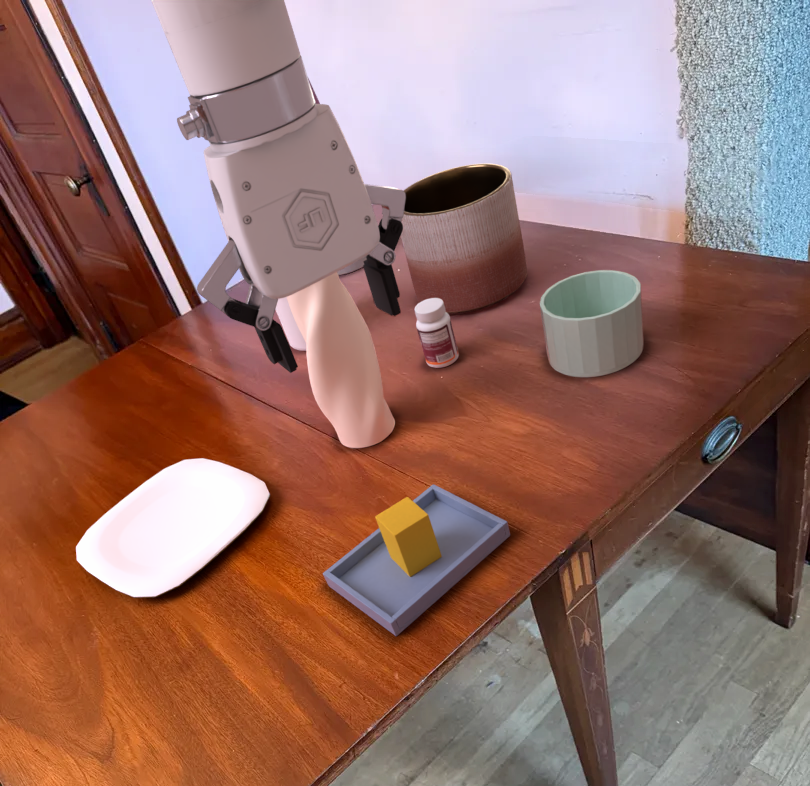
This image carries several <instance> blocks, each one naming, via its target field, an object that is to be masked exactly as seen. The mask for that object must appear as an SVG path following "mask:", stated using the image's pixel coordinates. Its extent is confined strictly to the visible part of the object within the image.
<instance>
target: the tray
mask: <svg viewBox="0 0 810 786" xmlns="http://www.w3.org/2000/svg"><path fill="white" fill-rule="evenodd" d="M412 501H413V502H414V503H415V504H417V505H418V506H419V507H420V508H421V509H422V510H424V511H425V512H426V513H427V514H428V515H429V519H430V522H431V525H432V528H433V531H434V534H435V537H436V540H437V543H438V546H439V549H440V552H441V556H442V557H441V558H439V559H438V560H436V561H434V562H433V563H431V564H430V565H428V566H427V567H425V568H424V569H422V570H421V571H419V572H418V573H416V574H414V575H413V576H411V577H409V576H408V575H407V574H406V573H405V571H404V570H403V569H402V568H401V567H400V566H399V565H398V564H397V563H396V562H395V561H394V560H393V559H392V558H391V557H390V554H389V552H388V549H387V547H386V544H385V541H384V539H383V536H382V534H381V531H380V529H379V527H378V528H377V529H375V531H373V532H372V533H371V534H369V535H368V536H367V537H365V538H364V539H363V540H362V541H361V542H360V543H358V544H357V545H356V546H354V548H352V549H351V550H349V551H348V552H347V553H346V554H345V555H344V556H342V557H341V558H340V559H339V560H337V561H336V562H335V563H334V564H332V565H331V566H330V567H328V568H327V569H325V571H323V572H322V576H323V577H324V579H325V581H326V584H327V586H328V587H329V588H330V589H332V590H333V591H335V592H336V593H337V594H338V595H340V596H341V597H342V598H344V599H345V600H346V601H348V602H349V603H350V604H352V605H353V606H355V608H357V609H359V610H360V611H362V612H363V613H364V614H365V615H367V616H368V617H369V618H371V619H372V620H374V621H375V622H376V623H377V624H379V625H380V626H381V627H383V628H384V629H385V630H387V631H388V632H389V633H391V634H392V635H394V636H395V637H397V636H399V635H400V634H401V633H402V632H403V631H405V630H406V629H407V628H408V627H409V626H410V625H411V624H412V623H413V622H414V621H416V620H417V619H418V618H419V617H420V616H421V615H423V614H424V613H425V612H426V611H427V610H428V609H429V608H430V607H431V606H433V605H434V604H435V603H436V602H437V601H438V600H439V599H440V598H441V597H443V596H444V595H445V594H446V593H447V592H449V591H450V589H453V587H455V585H456V584H457V583H459V582H460V581H461V580H462V579H463V578H465V576H467V575H468V574H469V573H470V572H471V571H472V570H473V569H474V568H475V567H477V566H478V565H479V564H480V563H481V562H482V561H484V560H485V559H486V558H487V557H488V556H489V555H490V554H491V553H493V551H495V550H496V549H497V548H498V547H499V546H500V545H501V544H503V543H504V542H505V541H506V540H507V539H508V538H509V537H511V532H510V527H509V523H508V521H507V520H505V519H503V518H502V517H499V516H498V515H495V514H493V513H491V512H489V511H487V510H485V509H484V508H481V507H479V506H478V505H475V504H474V503H472V502H470V501H467V500H465V499H463V498H461V497H459V496H458V495H456V494H454V493H452V492H450V491H449V490H448V491H447V490H446V489H444V488H442V487H440V486H438V485H436V484H434V483H433V484H431V485H430V486H429V487H428V488H426V489H425V490H424V491H423V492H421V493H420V494H419V495H418V496H416V497H415V498H414V499H413V500H412Z"/></svg>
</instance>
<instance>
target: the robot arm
mask: <svg viewBox="0 0 810 786" xmlns="http://www.w3.org/2000/svg"><path fill="white" fill-rule="evenodd" d="M150 1H151V3H152V6H153V8H154V11H155V13H156V15H157V18H158V21H159V23H160V26H161V28H162V31H163V33H164V36H165V38H166V40H167V43H168V45H169V48H170V51H171V52H172V55H173V57H174V60H175V63H176V64H177V67H178V70H179V72H180V74H181V78H182V79H183V82H184V85H185V87H186V89H187V90H188V93H189V96H187V99H188V102H189V105H188V106H189V109H188V110H187V111H185V114H183V115H181V116H179V117H177V118H176V123H177V126H178V128H179V131H180V133H181V135H182V136H183V138H184V139H185V140H186V141H189V140H191V139H194V138H198V139H200V138H204V140H205V141H207V142H208V143H209V146H207V147H206V148H204V150H203V156H204V162H205V168H206V172H207V176H208V180H209V184H210V188H211V192H212V195H213V199H214V203H215V206H216V208H217V209H216V210H217V212H218V215H219V218H220V222H221V224H222V228H223V231H224V233H225V237H226V239H227V243H226V244H225V245H224V247H223V249H222V250H221V252H220V253H219V254H218V256H217V257H216V258H215V260H214V262H213V263H212V264H211V266H210V267H209V269H208V270H207V271H206V272H205V274H204V276H202V278H201V279H200V281H199V282H198V284H197V286H196V291H197V293H198V295H200V296H201V297H202V298H204V300H206V301H208V302H209V304H212V306H214V307H215V308H216V309H218V310H219V311H220V312H221V313H223V314H224V315H225V316H227V317H228V318H229V319H231V320H233V321H236V322H239V323H242V324H245V325H248V326H251V327H254V330H255V333H256V335H257V337H258V339H259V341H260V343H261V346H262V348H263V351H264V353H265V355H266V357H267V358H268V360H269V361H270V362H271V364H273V365H276V364H279V365H280V366H282V368H283V369H285V370H286V371H287V372H289V373H290V374H292V373H293V372H295V371H297V369H298V367H299V365H298V363H297V361H296V357H295V356H294V353H293V350H292V347H291V346H290V344H289V341H288V339H287V336H286V334H285V332H284V329H283V327H282V324H281V323H279V322H278V321H276V320H275V319H274V316H275V312H276V310H275V309H276V305H277V302H278V299H280V298H285V297H288V296H290V295H292V294H295V293H297V292H299V291H301V290H303V289H305V288H307V287H309V286H311V285H312V284H314V283H316V282H318V281H320V280H322V279H324V278H326V277H328V276H330V275H332V274H334V273H336V272H338V271H340V270H341V269H343V268H345V267H347V266H349V265H351V264H353V263H355V262H357V261H358V260H360V259H362V258H364V257H365V256H366V258H367V260H365V261H363V262H364V265H363V267H362V268H363V271H364V273H365V277H366V280H367V284H368V287H369V290H370V294H371V296H372V299H373V303H374V306H375V307H376V308H377V309H379V310H380V311H383V312H384V313H385V314H388V315H390V316H391V317H392V316H393V317H397V316H398V315H400V314H401V313H402V311H401V308H400V303H399V300H398V298H400V296H401V294H400V290H399V286H398V282H397V278H396V275H395V272H394V269H393V264H394V262H395V261H396V256H397V255H396V252H395V251H396V248H397V246H398V243H399V241H400V239H401V233H402V231H403V225H402V223H401V222H402V218H403V214H404V207H405V200H406V194H405V192H404V191H403V190H404V189H400V188H397V187H393V186H386V185H379V184H378V185H377V184H368V183H364V179H363V177H362V174H361V172H360V169H359V166H358V164H357V161H356V159H355V157H354V154H353V152H352V150H351V147H350V145H349V143H348V141H347V138H346V136H345V135H344V131H343V130H342V128H341V126H340V124H339V121H338V120H337V118H336V116H335V114H334V112H333V110H332V109H331V107H330V105H329V104H325V103H320V104H316V103H315V99H314V96H313V93H312V89H311V86H310V83H311V82H310V83H309V80H310V79H309V80H308V78H309V76H308V73H307V71H306V68H305V64H304V60H303V57H302V55H301V52H300V48H299V45H298V41H297V38H296V35H295V32H294V29H293V26H292V22H291V19H290V16H289V15H290V14H289V11H288V9H287V5H286V2H285V0H150ZM373 205H375V206H377V205H378V206H381V208H382V209H381V210H382V211H381V215H382V217H381V218H380V221H379V222H378V219H377V217H376V213H375V210H374V206H373ZM238 270H239V272H240V274H241V276H242V278H243V280H244V281H245V282H246V283H247V284H248V285H249V287H248V291H247V294H246V298H245V302H243V301H241V300H238V299H235V298H233V297H231V296H230V295H229V294H228V293H227V291H226V289H227V286H228V284H229V283H230V282H231V280H232V279H233V278H234V276H235V275H236V273H237V272H238Z"/></svg>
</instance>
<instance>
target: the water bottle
mask: <svg viewBox="0 0 810 786" xmlns="http://www.w3.org/2000/svg"><path fill="white" fill-rule="evenodd" d="M287 300H288V303H289V306H290V309H291V312H292V314H293V317H294V319H295V321H296V324H297V326H298V328H299V330H300V332H301V334H302V336H303V338H304V340H305V342H306V344H307V350H306V351H305V352H306V363H307V372H308V379H309V382H310V388H311V391H312V394H313V397H314V400H315V403H316V404H317V406H318V408H319V409H320V411H321V412H322V414H323V415H324V416H325V418H326V419H327V420H328V421H329V422H330V424H331V425H332V427H333V428H334V431H335V433H336V434H337V438H338V440H339V442H340V443H341V445H343V446H344V447H347V448H350V449H362V448H363V449H364V448H368V447H371V446H375V445H377V444H379V443H381V442H382V441H384V440H385V439H386V438H388V437H389V435H390V434H391V433H392V432H393V430H394V428H395V425H396V420H395V418H394V416H393V413H392V412H391V409H390V407H389V405H388V403H387V400H386V399H385V396H384V387H383V378H382V373H381V367H380V364H379V359H378V355H377V354H378V353H377V350H376V348H375V344H374V340H373V338H372V333H371V331H370V329H369V327H368V323H367V322H366V320H365V319H364V317H363V315H362V313H361V312H360V310H359V308H358V306H357V304H356V302H355V300H354V298H353V296H352V295H351V293H350V292H349V290H348V288H347V287H346V286H345V285H344V283H343V282H342V281H341V279H340V275H338V273H337V272H336V273H334V274H332V275H330V276H328V277H326V278H324V279H322V280H320V281H318V282H316V283H314V284H312V285H311V286H309V287H307V288H305V289H303V290H301V291H299V292H297V293H295V294H292V295H290V296H288V297H287Z"/></svg>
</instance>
